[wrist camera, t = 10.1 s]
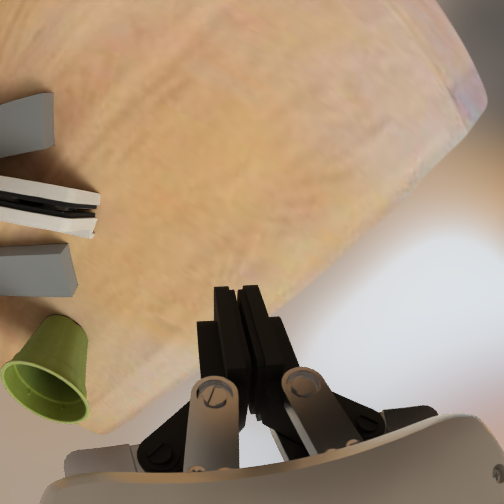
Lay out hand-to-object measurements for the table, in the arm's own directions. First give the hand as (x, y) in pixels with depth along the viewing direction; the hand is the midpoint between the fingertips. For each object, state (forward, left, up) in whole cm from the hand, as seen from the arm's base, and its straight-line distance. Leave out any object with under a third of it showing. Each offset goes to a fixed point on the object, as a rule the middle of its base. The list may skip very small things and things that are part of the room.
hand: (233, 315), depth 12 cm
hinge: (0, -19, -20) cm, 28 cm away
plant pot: (+20, -20, -20) cm, 35 cm away
